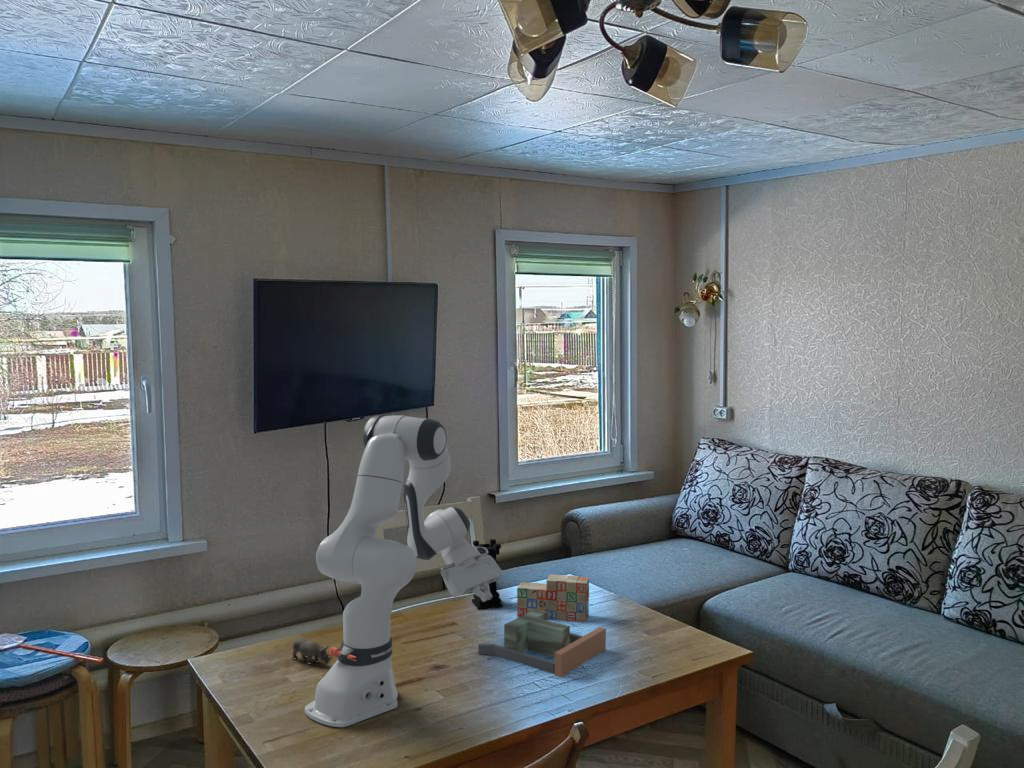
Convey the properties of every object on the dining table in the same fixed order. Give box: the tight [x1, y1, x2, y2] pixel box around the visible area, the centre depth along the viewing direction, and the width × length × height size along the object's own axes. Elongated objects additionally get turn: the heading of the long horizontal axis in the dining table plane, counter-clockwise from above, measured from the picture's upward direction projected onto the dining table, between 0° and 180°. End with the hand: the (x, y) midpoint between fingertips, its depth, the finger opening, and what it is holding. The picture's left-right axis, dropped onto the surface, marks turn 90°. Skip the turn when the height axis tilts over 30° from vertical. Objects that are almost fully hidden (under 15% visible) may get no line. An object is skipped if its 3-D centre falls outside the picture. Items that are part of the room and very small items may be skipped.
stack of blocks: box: [516, 573, 590, 623], centre depth 252 cm, size 21×6×12 cm, turn 77°
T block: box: [503, 609, 571, 659], centre depth 226 cm, size 15×15×8 cm
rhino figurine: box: [291, 636, 333, 665], centre depth 218 cm, size 4×14×6 cm, turn 57°
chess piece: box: [471, 538, 503, 611], centre depth 262 cm, size 8×8×20 cm
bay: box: [477, 626, 607, 678], centre depth 225 cm, size 24×27×6 cm
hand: (488, 599), depth 236 cm, fingers closed
